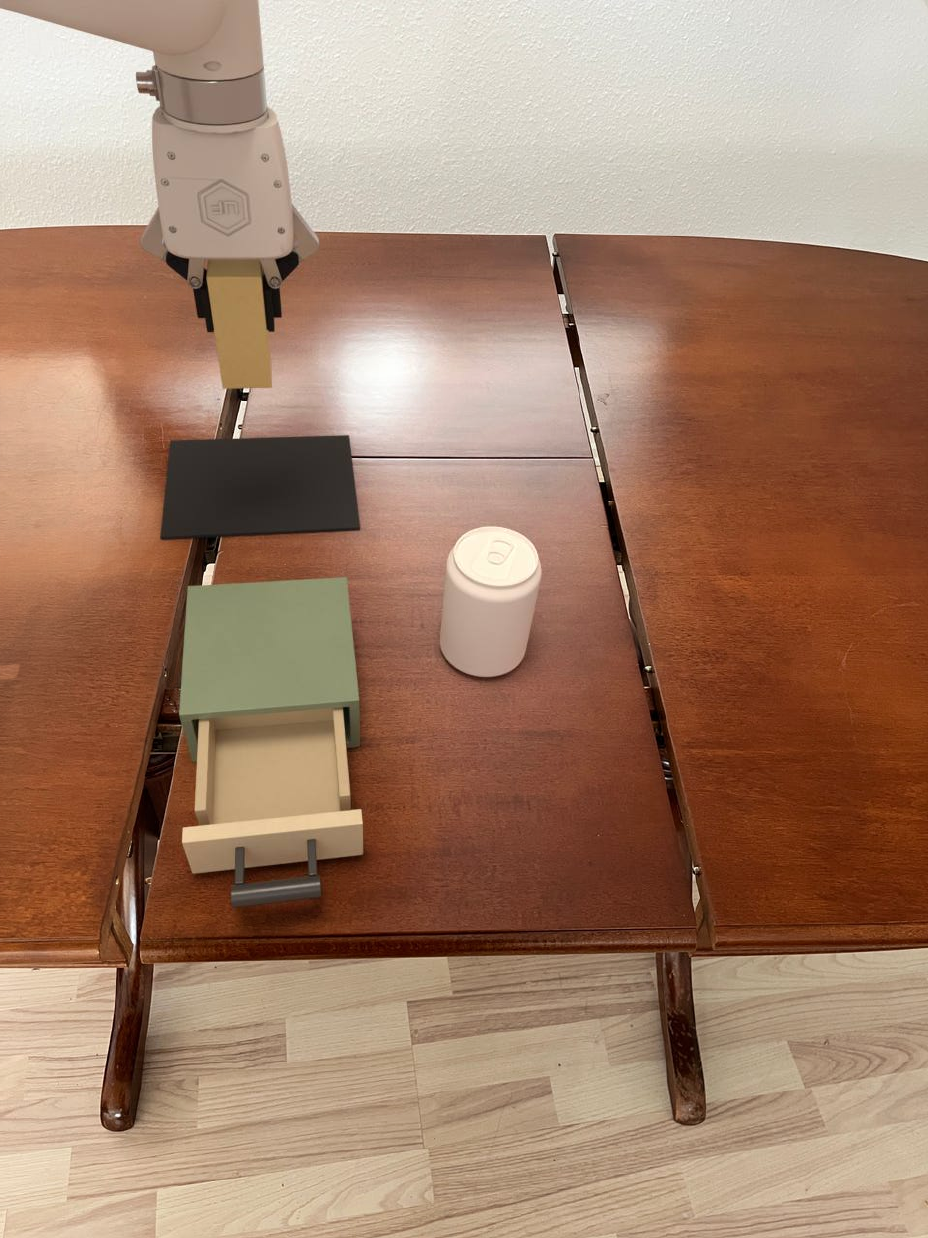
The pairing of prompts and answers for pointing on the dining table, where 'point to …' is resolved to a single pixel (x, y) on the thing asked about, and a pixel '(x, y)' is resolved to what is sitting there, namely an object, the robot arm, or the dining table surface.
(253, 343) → the box
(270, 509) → the mat
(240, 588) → the cabinet
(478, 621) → the beverage can
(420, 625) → the dining table surface
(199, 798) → the drawer
